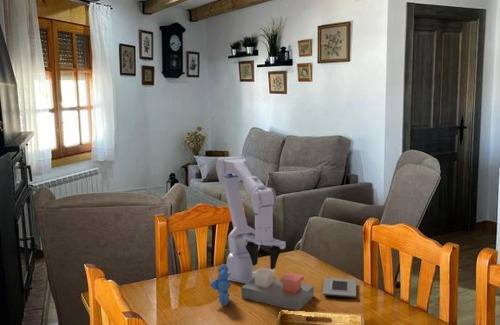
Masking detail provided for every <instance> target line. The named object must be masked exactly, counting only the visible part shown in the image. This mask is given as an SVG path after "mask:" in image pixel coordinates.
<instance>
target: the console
mask: <svg viewBox="0 0 500 325" xmlns="http://www.w3.org/2000/svg"><path fill="white" fill-rule="evenodd" d="M314 289H315V287H314V285H309V284H306V283H302V282H301V290H300V291H299V292H298V293H297V294H293V293H288V292H284V291H283V283H282V282H280V278H277V277H276V278H275V277H273V284H272V285H270V286H269V287H268V288H265V287H261V286H256V285H255V278H254V279H253V280H251V281H250V282H248V283H247V284H245V283H244V285H243V286H241V298H242V299H245V300H249V301H254V302H259V303H262V304H267V305H270V306H271V305H272V306H276V307H281V308H284V309H288V310H292V309H293V310H292V311H297V310H299V311H300V310H301V309H302V308H304V306H305V305H306V304H307V303H309V301H310V300H312V299H313V297H314V296H315V295H314V294H315V290H314Z"/></svg>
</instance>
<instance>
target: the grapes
mask: <svg viewBox="0 0 500 325" xmlns="http://www.w3.org/2000/svg"><path fill="white" fill-rule="evenodd" d="M228 270H229V269H228V267H227V264H224V263H222V264H221V265H220V266H219V267H218V270H217V272H218V275H217V278H216V279H215V278H214V279H213V280H212V281H211V283H210V287H211V289H213V291H217V293H218V301H219V302H220V304H221V305H222V306H227V304H229V302H230V296H231V295H230V293H229V288H230V287H231V286H232V282H231V280H228V276H229V274H228V273H227V272H228Z"/></svg>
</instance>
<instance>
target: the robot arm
mask: <svg viewBox="0 0 500 325" xmlns="http://www.w3.org/2000/svg"><path fill="white" fill-rule="evenodd" d="M215 164H216V166H215V170H216V174H217V178H218V181H219V183H221V184H223V188H224V194H225V197H226V202H227V205H228V206H227V207H228V210H229V214H230V219H231V222H232V226H233V227H232V228H233V229H232V230H231V231H230V232H229V234H228V235H227V239H228V240H227V241H228V250H229V254H228V256H227V259H226V266H227V267H228V269H229V270H228V272H227V273H228V274H229V276H228V280H229V281H230V282H231V281H232V282H237V283H242V284H244V285H245V284H247V283H248V282H250V281H251V280H253V279H254V278H255V277H253V276H252V273H253V272H254V271H256V269H255V266H257V265H258V262H259V261H258V260H259V259H258V258H259V257H258V253H259V250H260V248H261V247H260V246H267V247H270V248H269V249H268V253H269V260H270V262H269V263H270V264H269V265H270V266H269V267H270V269H272V270H275V269H276V267H277V266H276V265H277V261H278V259H279V256H280V253H281V251H282V250H284V249H285V248H286V241H283V240H280V239H277V238H275V237H274V236H273V234H274V233H273V232H274V228H273V227H274V225H273V222H274V220H273V219H274V218H273V217H274V216H273V215H274V214H273V213H274V209H273V207H274V206H275V205H276V204H277V195H276V191H275V189H274V188H273V187H267V186H266V185H265V184H264V183H263V182H262V181H261V180H260V178H259V177H258V176H257V175H252V173H251V171H250V169H249V168H248V164H247V159H246V158H245V157H244V156H243V155H239V156H238V155H237V156H226V157H218V158H217V160H216V163H215ZM241 181H242V182H243V188H244V190H245V191H246V192H247V194H248V195H249V197H250V198H251V199H250V200H251V204H252V210H253V213H254V228H253V227H251V226H249V225H248V222H247V217H246V213H245V210H244V206H243V202H242V196H241V193H240V190H239V186H238V184H239V182H241Z"/></svg>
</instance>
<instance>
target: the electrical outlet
mask: <svg viewBox="0 0 500 325" xmlns="http://www.w3.org/2000/svg"><path fill="white" fill-rule="evenodd" d="M322 287H323V288H322V295H323V296H327V297H329V296H330V297H340V298H353V299H355V298H356V297H357V279H349V278H348V279H347V278H346V279H345V278H335V277H324V279H323V286H322Z"/></svg>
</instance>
